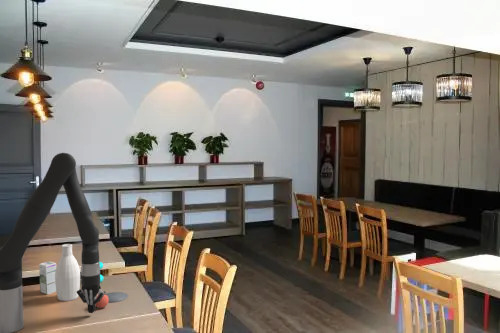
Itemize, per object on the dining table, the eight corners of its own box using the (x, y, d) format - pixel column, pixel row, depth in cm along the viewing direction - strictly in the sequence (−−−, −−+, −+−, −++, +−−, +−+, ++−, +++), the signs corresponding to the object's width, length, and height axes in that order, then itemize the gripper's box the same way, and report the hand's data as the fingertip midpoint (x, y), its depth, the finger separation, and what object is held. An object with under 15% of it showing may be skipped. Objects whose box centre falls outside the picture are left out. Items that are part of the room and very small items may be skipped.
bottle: (85, 294, 207) (84, 242, 206) (73, 302, 196) (72, 248, 194) (63, 293, 208) (62, 241, 207) (50, 301, 197) (49, 247, 196)
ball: (106, 294, 196) (104, 307, 194) (93, 293, 192) (91, 307, 190) (111, 293, 192) (110, 307, 190) (98, 293, 188) (97, 307, 186)
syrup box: (57, 291, 211) (56, 262, 210) (46, 295, 206) (45, 265, 205) (50, 289, 214) (49, 260, 213) (39, 292, 209) (38, 263, 208)
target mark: (102, 304, 194) (102, 304, 194) (96, 295, 205) (96, 295, 205) (131, 299, 201) (131, 298, 201) (123, 290, 212) (123, 290, 212)
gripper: (109, 271, 183) (110, 310, 184) (82, 268, 186) (83, 307, 187) (99, 276, 176) (100, 317, 177) (71, 274, 179) (72, 314, 180)
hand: (91, 312), depth 182 cm, fingers closed
